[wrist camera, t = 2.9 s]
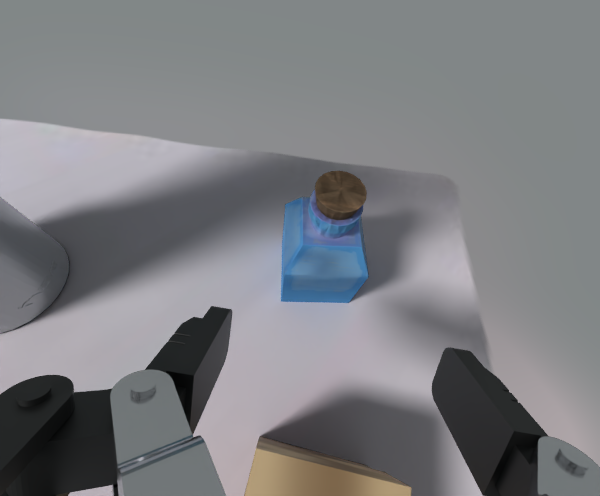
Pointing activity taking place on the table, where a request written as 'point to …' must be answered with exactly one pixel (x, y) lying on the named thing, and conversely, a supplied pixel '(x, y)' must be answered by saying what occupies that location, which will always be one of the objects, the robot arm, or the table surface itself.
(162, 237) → the table surface
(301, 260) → the perfume bottle
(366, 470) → the tower top block
